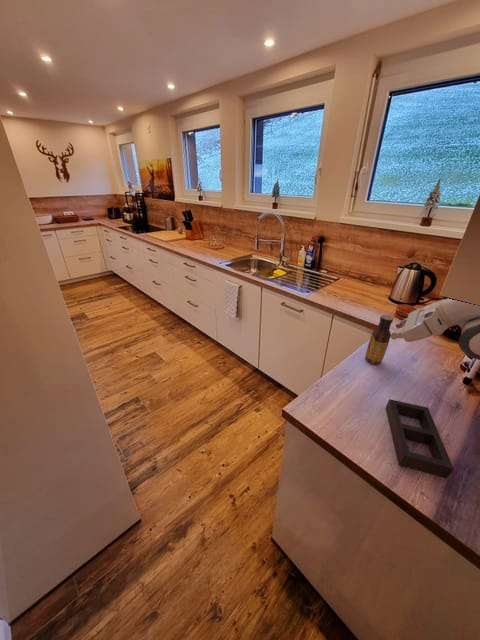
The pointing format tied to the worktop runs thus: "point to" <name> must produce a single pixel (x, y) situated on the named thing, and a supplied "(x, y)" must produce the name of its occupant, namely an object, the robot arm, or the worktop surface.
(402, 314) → the hamburger
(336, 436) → the worktop surface
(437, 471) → the caddy
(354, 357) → the worktop surface
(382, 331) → the sauce bottle
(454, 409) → the worktop surface
